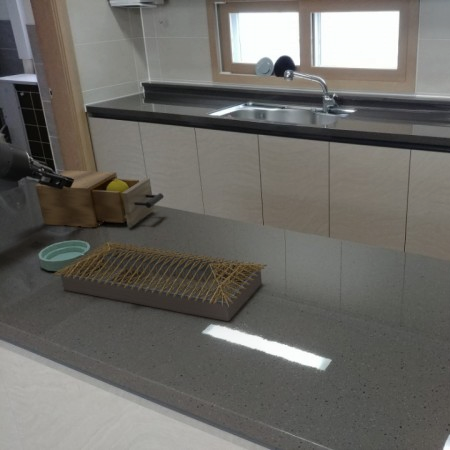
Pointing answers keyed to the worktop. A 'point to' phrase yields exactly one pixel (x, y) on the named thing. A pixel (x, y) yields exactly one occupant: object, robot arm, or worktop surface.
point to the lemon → (118, 188)
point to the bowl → (63, 254)
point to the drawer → (124, 201)
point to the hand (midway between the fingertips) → (58, 175)
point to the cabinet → (72, 199)
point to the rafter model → (166, 266)
